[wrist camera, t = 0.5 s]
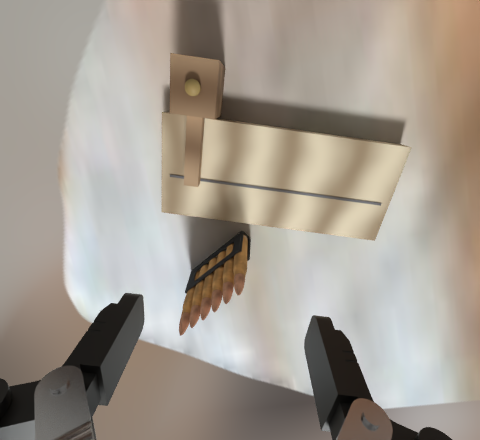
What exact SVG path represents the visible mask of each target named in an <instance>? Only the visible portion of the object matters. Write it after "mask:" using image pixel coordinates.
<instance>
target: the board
mask: <svg viewBox="0 0 480 440" xmlns="http://www.w3.org/2000/svg"><path fill="white" fill-rule="evenodd" d="M186 118H187V116H186V115H179V114H172V113H170V112H169V111H168V112H162V212H164V213H171V214H179V215H186V216H194V217H202V218H209V219H217V220H224V221H232V222H239V223H247V224H254V225H262V226H269V227H277V228H284V229H292V230H299V231H307V232H314V233H322V234H329V235H337V236H344V237H352V238H359V239H367V240H374V241H375V239H376V236H377V234H378V231H379V229H380V226H381V224H382V221H383V219H384V216H385V213H386V211H387V208H388V206H389V203H390V201H391V198H392V196H393V193H394V191H395V188H396V186H397V183H398V181H399V178H400V176H401V173H402V171H403V168H404V165H405V163H406V160H407V158H408V155H409V153H410V150H411V147H408V146H405V145H401V144H395V143H388V142H381V141H374V140H367V139H359V138H352V137H345V136H338V135H331V134H324V133H317V132H310V131H303V130H296V129H289V128H282V127H275V126H268V125H261V124H253V123H246V122H239V121H232V120H225V119H218V118H216V119H215V120H214V119H207V118H205V120H204V135H203V150H202V164H201V179H200V184H199V186H198V187H193V186H185V185H184V166H185V142H186Z"/></svg>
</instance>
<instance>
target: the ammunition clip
mask: <svg viewBox="0 0 480 440" xmlns="http://www.w3.org/2000/svg"><path fill="white" fill-rule="evenodd" d="M250 242H251V239H250V238H249V237H248V236H247V235H246V234H245V233H244V232H243V231H241V232H240V233H239V234H237V235H236V236H235V237H234V238H232V239H231V240H230V241H229V242H227V243H226V244H225V245H224V246H222V247H221V248H220V249H219V250H217V251H216V252H215V253H213V254H212V255H211V256H210V257H208V258H207V259H206V260H205V261H203V262H202V263H201V264H200V265H198V266H197V267H196V268H195V269H193V270H192V271H191V274H190V277H189V281H188V284H187V287H186V290H185V293H186V298H185V301H184V304H183V311H182V315H181V319H180V324H179V333H180V335H183V334H184V332H185V331H186V329H187V327H188V325H189V323H190V327H191V328H193V327H194V326H195V324H196V323H197V321H198V319H199V316H200V313H201V318H202V320H204V319H205V318H206V317H207V315H208V313H209V311H210V308H211V305H212V310H213V312H216V311H217V309H218V308H219V306H220V303H221V300H222V295H223V300H224V302H225V304H227V303H228V302H229V301H230V299H231V296H232V293H233V287H234V288H235V291H236V294H237V295H240V294H241V292H242V290H243V288H244V282H245V274H246V272H247V261H248V260H249V259H250Z"/></svg>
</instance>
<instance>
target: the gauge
mask: <svg viewBox="0 0 480 440" xmlns="http://www.w3.org/2000/svg"><path fill="white" fill-rule="evenodd" d="M224 76H225V67H224V65H223V64H222V63H221V62H220V60H214V59H207V58H200V57H194V56H187V55H180V54H173V53H171V54H170V113H172V114H179V115H186V116H187V118H186V142H185V166H184V185H185V186H193V187H198V186H199V184H200V179H201V164H202V150H203V135H204V120H205V118H207V119H214V120H215V119H216V118H218V117H220V116H221V108H222V98H223V87H224Z"/></svg>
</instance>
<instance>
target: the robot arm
mask: <svg viewBox="0 0 480 440" xmlns="http://www.w3.org/2000/svg"><path fill="white" fill-rule="evenodd" d="M143 325H144V303H143V295H140V294H131V293H125V294H124V295H123V296H122V298H121V300H120V301H119V303H118V304H114V303H111V304H109V305H108V306H107V307H105V308H104V309H103V310H102V311H100V313H99V314H98V316H97V317H96V319H95V320H94V323H92V324H91V326H90V327H89V329H88V331H87V332H86V333H85V335H84V336H83V337H82V339H81V341H80V342H79V343H78V345H77V346H76V348H75V349H74V350H73V352H72V353H71V355H70V356H69V358H68V359H67V361H66V362H65V363H64V364H63V366H62V367H59V368H56V369H55V370H53V371H51V372H49V373H48V374H47V375H45V376H44V377H43V378H42V380H39V381H35V382H31V383H26V384H20V385H15V386H10V387H9V386H8V384H7V382H6V381H5V380H3V379H0V440H96V434H95V429H94V423H93V419H92V416H93V414H94V412H95V410H96V408H97V406H98V405H105V406H107V405H108V403H109V401H110V399H111V397H112V395H113V392H114V390H115V388H116V386H117V384H118V382H119V379H120V377H121V375H122V373H123V371H124V369H125V367H126V364H127V362H128V360H129V358H130V356H131V353H132V351H133V349H134V347H135V345H136V343H137V341H138V338H139V336H140V334H141V332H142V329H143ZM304 347H305V355H306V359H307V364H308V369H309V374H310V379H311V383H312V388H313V393H314V398H315V403H316V407H317V412H318V417H319V422H320V427H321V430H322V431H330V432H331V435H332V440H452V439H451V438H450V437H448V436H447V435H446V434H444V433H443V432H441V431H439V430H437V429H435V428H431V427H426V428H423V429H422V430H421V431H420V432H419V433H417V432H415V431H413V430H411V429H408V428H406V427H404V426H402V425H399V424H397V423H395V422H393V421H392V420H390V419H389V417H388V416H387V414H386V413H385V412H384V410H383V409H382V408H381V407H380V406H379V405H377V404H376V403H374V401H373V399H372V397H371V394H370V392H369V389H368V387H367V384H366V382H365V379H364V377H363V374H362V372H361V369H360V367H359V364H358V363H357V359H356V357H355V354H354V353H353V352H354V351H353V349H352V346H351V344H350V341H349V340H348V339H347V337H346V336H345V335H344V334H343V332H342V331H341V330H335V329H334V326H333V323H332V321H331V319H330V318H329V317H323V316H314V315H313V316H312V318H311V321H310V324H309V327H308V331H307V334H306V337H305V343H304Z"/></svg>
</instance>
